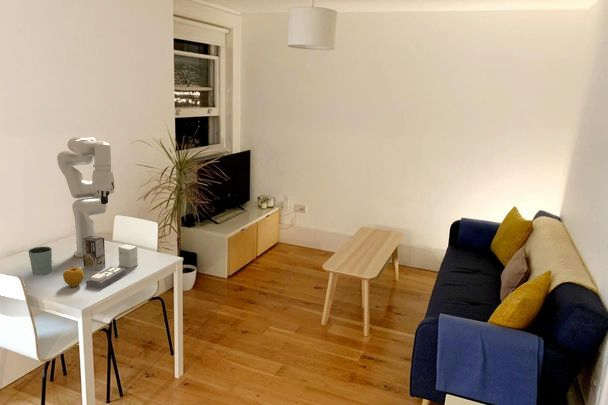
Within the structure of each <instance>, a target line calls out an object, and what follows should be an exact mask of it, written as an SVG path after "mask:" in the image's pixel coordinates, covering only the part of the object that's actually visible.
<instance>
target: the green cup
mask: <svg viewBox="0 0 608 405" xmlns="http://www.w3.org/2000/svg"><path fill="white" fill-rule="evenodd" d="M52 250H53V249H52V247H50V246H37V247H33V248H30V249H28V251H27V252H28V257H29V260H30V261H29V262H30V266H31V272H32V275H34V276H45V275H46V276H47V275H49V274H51V273H52V271H53V265H52V263H53V260H52V256H53V255H52V254H53V253H52V252H53V251H52Z"/></svg>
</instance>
